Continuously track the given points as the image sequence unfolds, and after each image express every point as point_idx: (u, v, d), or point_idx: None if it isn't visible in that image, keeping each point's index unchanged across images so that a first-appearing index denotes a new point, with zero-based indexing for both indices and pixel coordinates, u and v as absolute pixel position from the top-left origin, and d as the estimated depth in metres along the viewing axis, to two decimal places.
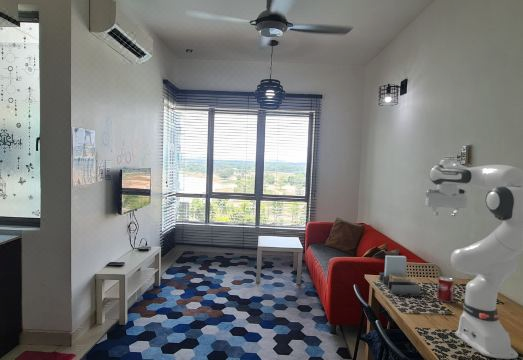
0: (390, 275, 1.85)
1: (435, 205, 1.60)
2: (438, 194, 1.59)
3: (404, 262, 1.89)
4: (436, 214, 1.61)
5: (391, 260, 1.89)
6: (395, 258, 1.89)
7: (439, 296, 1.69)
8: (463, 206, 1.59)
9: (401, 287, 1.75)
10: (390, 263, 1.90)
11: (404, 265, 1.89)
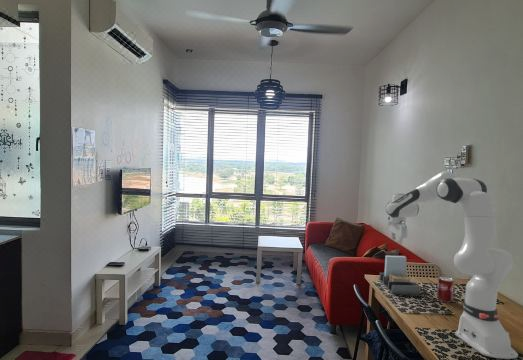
0: (390, 275, 1.85)
1: None
2: None
3: (404, 262, 1.89)
4: None
5: (391, 260, 1.89)
6: (395, 258, 1.89)
7: (439, 296, 1.69)
8: None
9: (401, 287, 1.75)
10: (390, 263, 1.90)
11: (404, 265, 1.89)
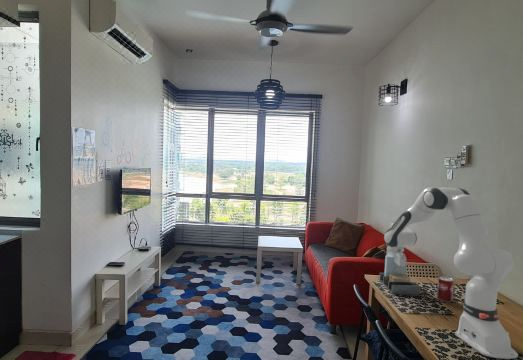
0: (390, 275, 1.85)
1: None
2: None
3: None
4: None
5: (391, 260, 1.89)
6: None
7: (439, 296, 1.69)
8: None
9: (401, 287, 1.75)
10: (390, 263, 1.90)
11: None
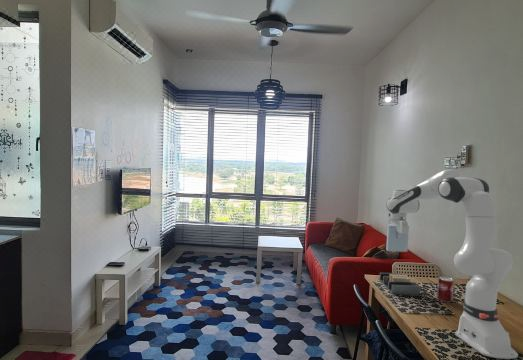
0: (390, 275, 1.85)
1: None
2: None
3: None
4: None
5: (394, 228, 1.88)
6: None
7: (439, 296, 1.69)
8: None
9: (401, 287, 1.75)
10: (392, 232, 1.88)
11: (406, 234, 1.88)
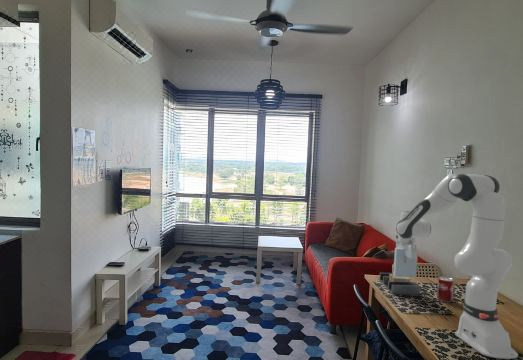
0: (390, 275, 1.85)
1: None
2: None
3: None
4: None
5: (402, 252, 1.75)
6: None
7: (439, 296, 1.69)
8: None
9: (401, 287, 1.75)
10: (400, 256, 1.76)
11: None
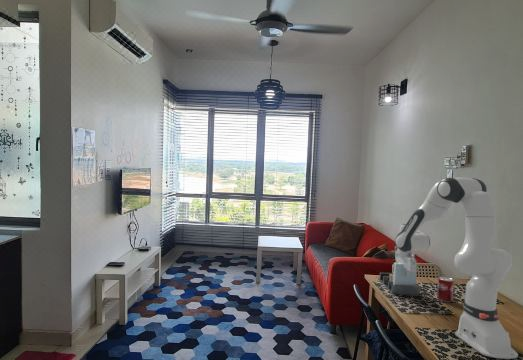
0: (390, 275, 1.85)
1: None
2: None
3: None
4: None
5: (401, 267, 1.76)
6: None
7: (439, 296, 1.69)
8: None
9: (401, 287, 1.75)
10: (399, 271, 1.76)
11: (414, 273, 1.76)
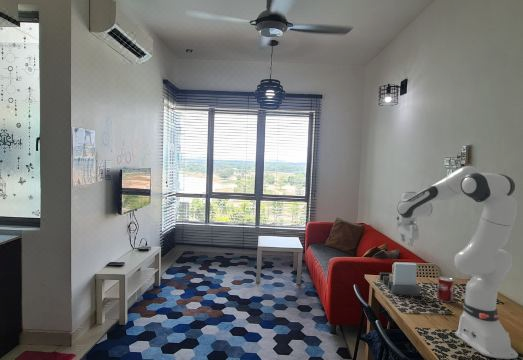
0: (390, 275, 1.85)
1: None
2: None
3: (414, 270, 1.76)
4: None
5: (401, 267, 1.76)
6: (405, 265, 1.76)
7: (439, 296, 1.69)
8: None
9: (401, 287, 1.75)
10: (399, 271, 1.76)
11: (414, 273, 1.76)
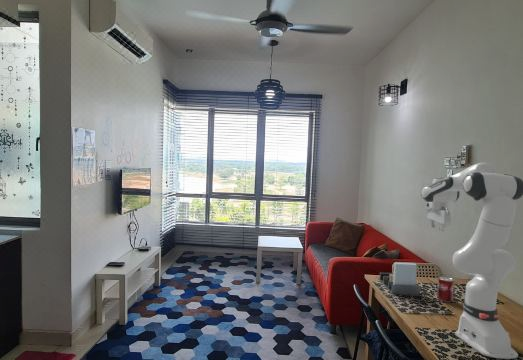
0: (390, 275, 1.85)
1: None
2: None
3: (414, 270, 1.76)
4: None
5: (401, 267, 1.76)
6: (405, 265, 1.76)
7: (439, 296, 1.69)
8: None
9: (401, 287, 1.75)
10: (399, 271, 1.76)
11: (414, 273, 1.76)
